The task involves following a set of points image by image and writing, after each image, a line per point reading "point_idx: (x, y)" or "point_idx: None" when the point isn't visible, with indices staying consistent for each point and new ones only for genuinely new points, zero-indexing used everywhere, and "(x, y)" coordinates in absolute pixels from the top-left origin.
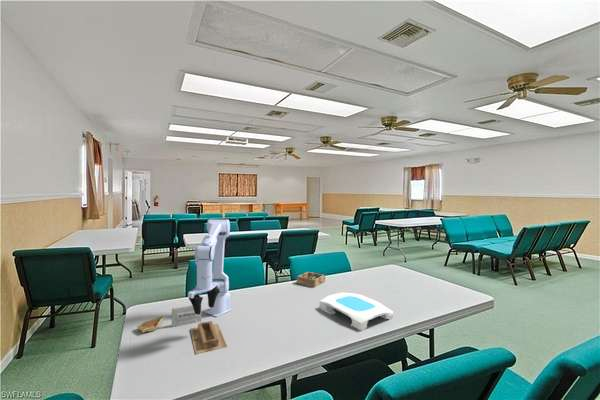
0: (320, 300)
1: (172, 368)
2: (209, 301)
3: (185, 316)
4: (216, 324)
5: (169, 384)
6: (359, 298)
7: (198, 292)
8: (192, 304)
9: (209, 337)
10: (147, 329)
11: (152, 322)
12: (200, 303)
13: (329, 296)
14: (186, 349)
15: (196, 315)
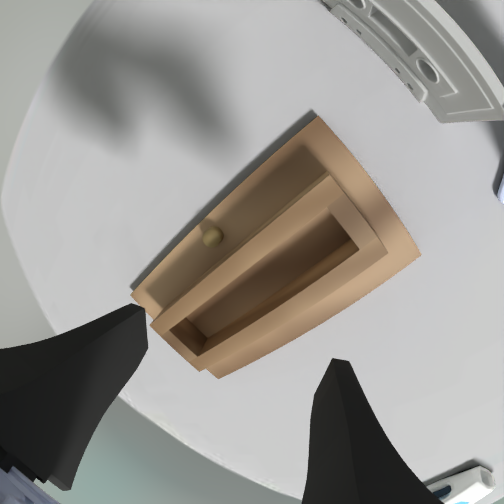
0: (477, 483)
1: (68, 257)
2: (331, 415)
3: (385, 24)
4: (408, 254)
5: (45, 288)
6: None
7: (4, 499)
8: (46, 345)
9: (256, 291)
10: None
11: None
12: (82, 432)
13: (479, 491)
14: (146, 231)
15: (436, 93)
